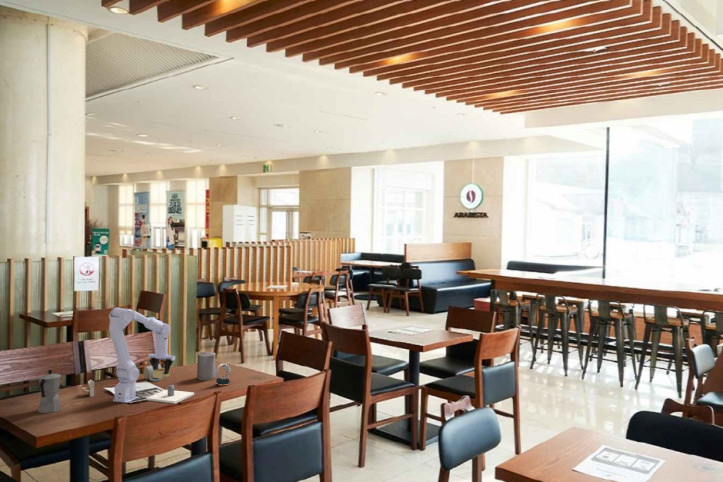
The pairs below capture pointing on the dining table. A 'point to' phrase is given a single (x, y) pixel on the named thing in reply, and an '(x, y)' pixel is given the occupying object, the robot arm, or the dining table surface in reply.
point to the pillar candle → (206, 365)
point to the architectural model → (90, 388)
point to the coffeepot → (49, 392)
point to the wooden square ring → (160, 373)
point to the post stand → (170, 395)
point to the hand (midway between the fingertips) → (161, 373)
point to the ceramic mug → (150, 373)
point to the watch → (222, 379)
